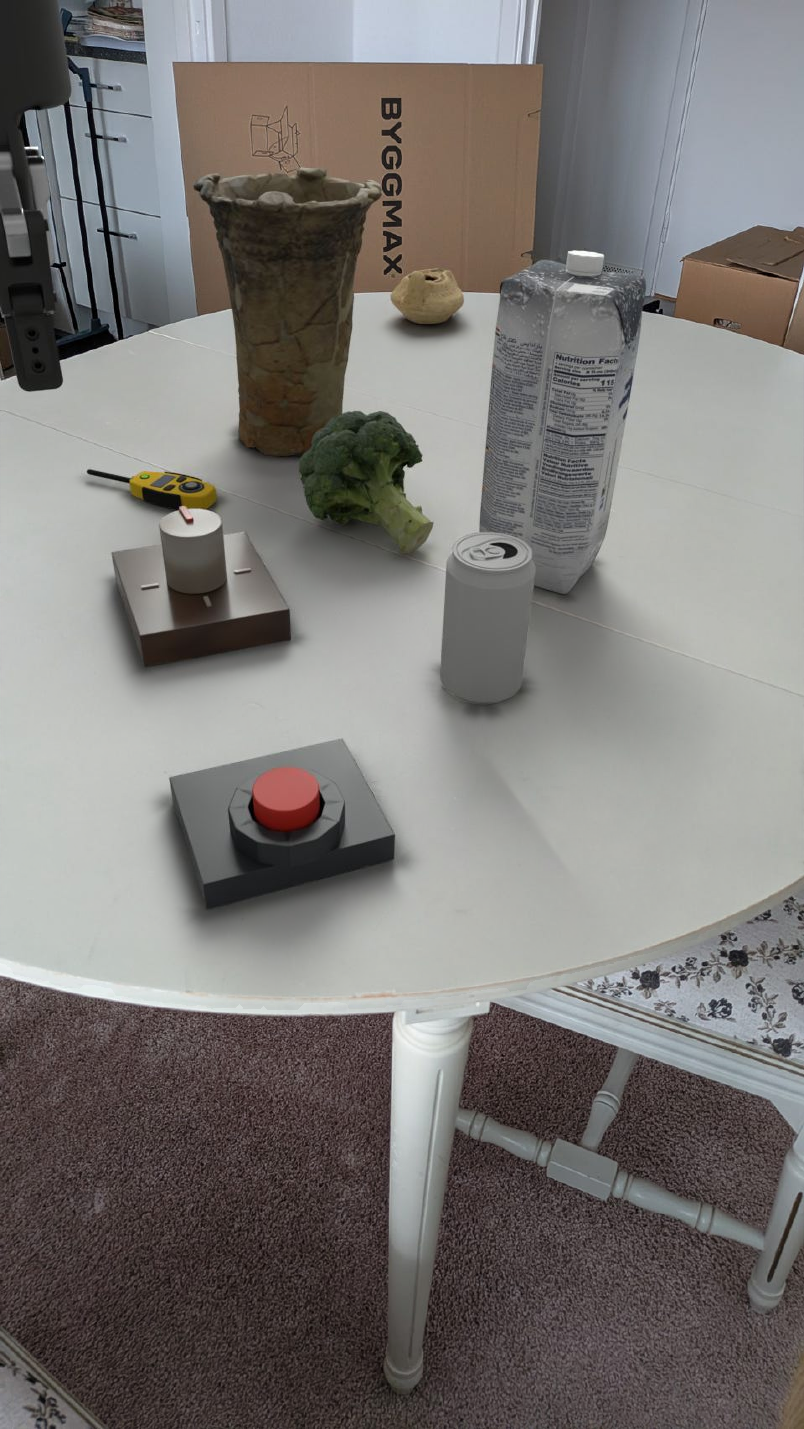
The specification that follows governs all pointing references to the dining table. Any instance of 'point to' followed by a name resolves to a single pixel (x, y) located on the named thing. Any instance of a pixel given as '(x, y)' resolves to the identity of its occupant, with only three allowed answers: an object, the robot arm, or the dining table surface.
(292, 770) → the button
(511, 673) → the beverage can
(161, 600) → the panel
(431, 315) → the oil lamp
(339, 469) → the vegetable
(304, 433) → the vase
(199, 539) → the knob
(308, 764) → the button block
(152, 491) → the yellow walkie talkie
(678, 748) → the dining table surface
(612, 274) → the juice carton
